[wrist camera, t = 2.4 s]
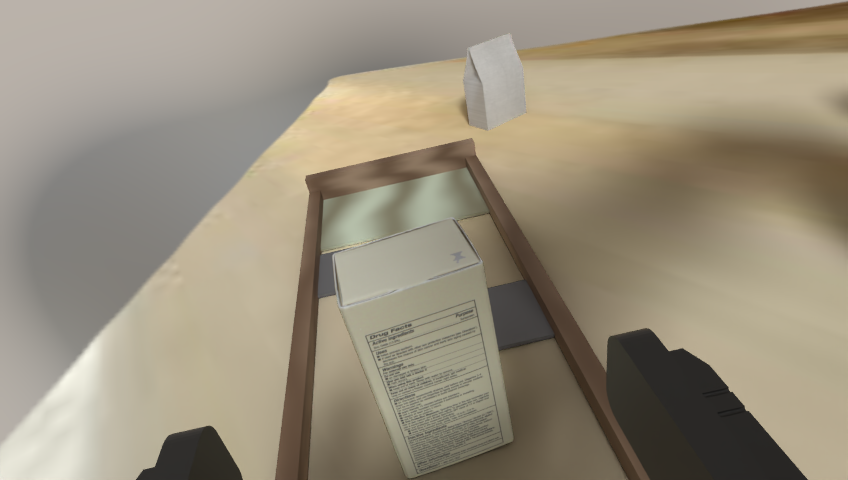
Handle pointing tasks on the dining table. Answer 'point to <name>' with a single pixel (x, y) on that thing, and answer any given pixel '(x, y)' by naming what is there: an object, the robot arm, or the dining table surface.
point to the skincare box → (426, 343)
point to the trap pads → (509, 305)
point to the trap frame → (397, 212)
